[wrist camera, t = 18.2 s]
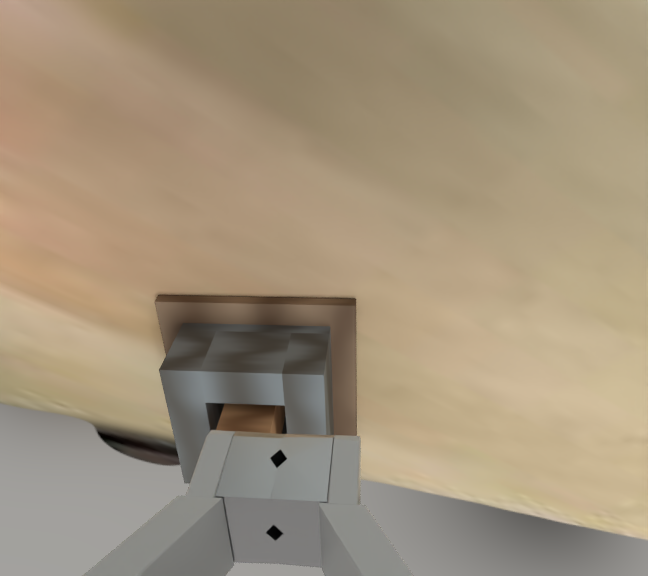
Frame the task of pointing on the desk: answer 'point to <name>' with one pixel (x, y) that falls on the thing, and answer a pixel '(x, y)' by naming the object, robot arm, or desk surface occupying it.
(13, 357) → the desk surface
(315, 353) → the hole block
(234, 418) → the peg
